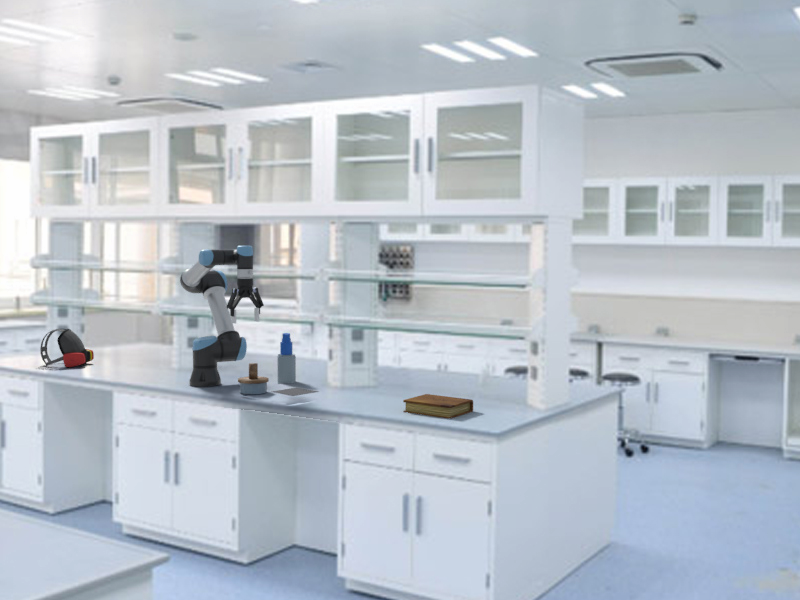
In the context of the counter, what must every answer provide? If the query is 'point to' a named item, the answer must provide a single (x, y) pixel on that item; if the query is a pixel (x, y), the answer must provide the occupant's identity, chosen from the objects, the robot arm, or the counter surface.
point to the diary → (438, 406)
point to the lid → (253, 376)
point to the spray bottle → (286, 361)
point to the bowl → (253, 388)
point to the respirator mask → (68, 349)
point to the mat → (295, 391)
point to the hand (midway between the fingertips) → (245, 322)
